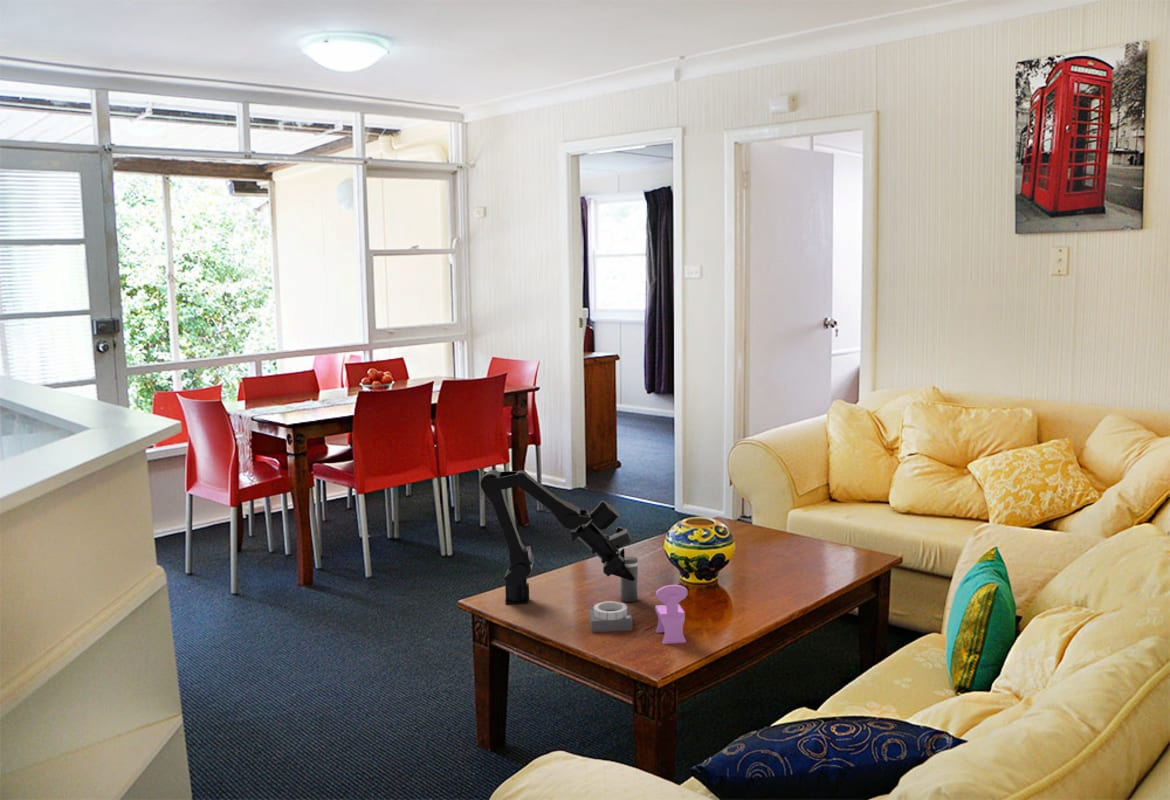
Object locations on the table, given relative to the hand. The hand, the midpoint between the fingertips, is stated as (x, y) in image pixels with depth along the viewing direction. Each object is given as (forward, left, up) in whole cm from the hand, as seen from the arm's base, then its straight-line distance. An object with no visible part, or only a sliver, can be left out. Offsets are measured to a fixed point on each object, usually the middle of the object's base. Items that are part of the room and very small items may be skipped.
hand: (633, 577), depth 277 cm
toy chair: (+7, -29, -7) cm, 30 cm away
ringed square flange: (-8, -19, -7) cm, 22 cm away
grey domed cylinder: (-1, 0, -7) cm, 7 cm away
